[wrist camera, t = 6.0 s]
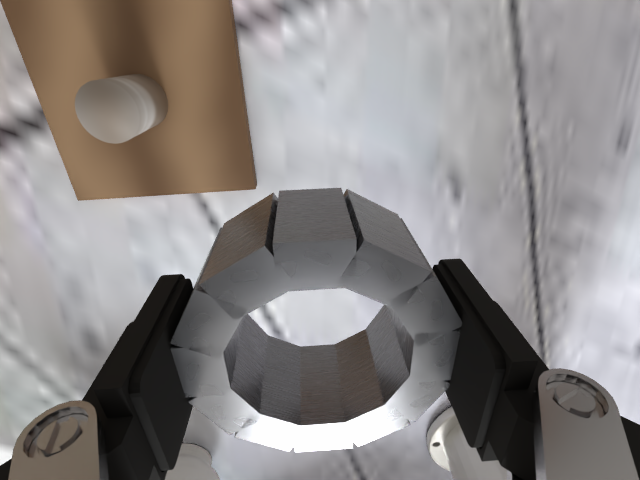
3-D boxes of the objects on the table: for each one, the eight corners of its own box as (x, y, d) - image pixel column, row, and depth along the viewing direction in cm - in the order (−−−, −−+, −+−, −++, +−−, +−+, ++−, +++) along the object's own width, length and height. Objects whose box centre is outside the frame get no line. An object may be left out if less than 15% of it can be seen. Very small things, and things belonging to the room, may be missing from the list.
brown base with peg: (228, -23, 20) (205, -46, 15) (256, 184, 26) (246, 215, 21) (8, -12, 20) (-87, -31, 15) (85, 195, 25) (35, 229, 21)
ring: (435, 183, 10) (485, 232, 7) (412, 363, 13) (441, 441, 11) (181, 195, 10) (138, 250, 7) (222, 376, 13) (204, 459, 10)
